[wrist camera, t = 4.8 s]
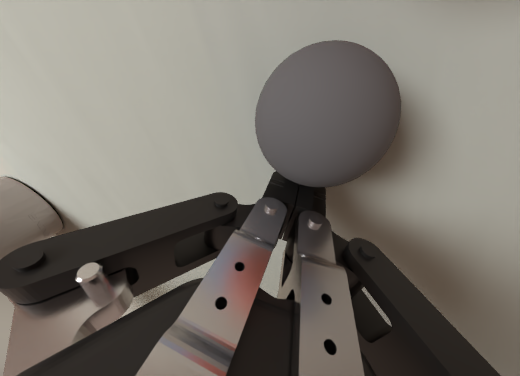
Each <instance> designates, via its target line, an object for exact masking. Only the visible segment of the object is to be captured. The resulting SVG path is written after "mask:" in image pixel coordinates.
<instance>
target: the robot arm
mask: <svg viewBox="0 0 520 376" xmlns="http://www.w3.org/2000/svg"><path fill="white" fill-rule="evenodd" d="M325 195H326V189H325V187H309V186H304V185H301V184H298V183H295V182H293V181H291V180H289V179H287V178H285V177H283V176H282V175H281V174H279V173H278V172H277V171H276V172H274V173H273V175H272V177H271V179H270V182H269V184H268V186H267V188H266V191H265V193H264V195H263V197H262V198H261V199H259V200H258V201H257V203H256V204H252V205H241V204H238V203H237V200H236V199H235V198H234V197H233V196H232V195H230V194H227V193H222V192H219V193H213V194H209V195H206V196H202V197H198V198H195V199H191V200H187V201H184V202H180V203H176V204H173V205H169V206H165V207H162V208H158V209H154V210H151V211H147V212H143V213H140V214H136V215H132V216H129V217H125V218H121V219H118V220H114V221H110V222H107V223H103V224H99V225H96V226H92V227H88V228H85V229H81V230H77V231H74V232H70V233H66V234H63V235H59V236H55V237H52V236H53V235H55V234H56V233H58V232H59V231H61V230H62V228H63V225H62V221H61V220H60V218H59V216H58V215H57V213H56V212H55V211H54V210H53V208H52V207H51V206H50V205H49V204H48V203H47V202H46V201H45V200H44V199H42V198H41V197H40V196H39V195H38V194H36V193H35V192H34V191H32V190H31V189H30V188H28V187H26V186H25V185H23V184H22V183H20V182H18V181H16V180H13V179H11V178H8V177H0V292H2V293H3V294H4V295H6V296H7V297H8V299H9V301H10V302H11V303H13V305H14V314H13V320H12V326H11V332H10V338H9V344H8V350H7V356H6V362H5V368H4V374H3V376H500V375H499V373H498V372H497V371H496V370H495V369H494V368H493V367H492V366H491V365H490V364H489V363H488V362H487V361H486V360H485V359H484V358H483V357H482V356H481V355H480V354H479V353H478V352H477V351H476V350H475V349H474V347H473V346H472V345H471V344H470V343H469V342H468V341H467V340H466V339H465V338H464V337H463V336H462V335H461V334H460V333H459V332H458V331H457V330H456V329H455V328H454V327H453V326H452V325H451V324H450V322H449V321H448V320H447V319H446V318H445V317H444V316H443V315H442V314H441V313H440V312H439V311H438V310H437V309H436V308H435V307H434V306H433V305H432V304H431V303H430V302H429V301H428V300H427V299H426V297H425V296H424V295H423V294H422V293H421V292H420V291H419V290H418V289H417V288H416V287H415V286H414V285H413V284H412V283H411V282H410V281H409V280H408V279H407V278H406V277H405V276H404V275H403V274H402V272H401V271H400V270H399V269H398V268H397V267H396V266H395V265H394V264H393V263H392V262H391V261H390V260H389V259H388V258H387V257H386V256H385V255H384V254H383V253H382V252H381V251H380V250H379V249H378V248H377V247H376V246H375V245H374V244H372V243H371V242H369V241H367V240H365V239H361V238H354V239H352V240H350V242H348V241H346V240H345V239H343V238H341V237H340V236H338V235H336V234H335V233H334V232H333V231H332V230H331V225H330V222H329V221H328V220H327V218H326V201H325V200H326V196H325ZM283 233H284V235H283ZM282 236H283V239H282V240H284V241H287V244H286V248H285V250H284V253H283V257H282V266H281V274H280V282H279V290H278V295H277V298H274V297H272V296H271V295H269V294H268V293H267V292H265V291H264V290H262V289H261V288H259V286H260V283H261V280H262V278H263V275H264V272H265V270H266V267H267V264H268V262H269V259H270V256H271V254H272V251H273V249H274V248H275V246H276V244H277V241H278V239H281V238H282ZM50 237H52V238H50ZM215 258H216V260H215V261H214V263H213V264H212V266H211V268H210V269H209V271H208V272H207V274H206V275H205V277H204V278H199V279H195V280H192V281H189V282H187V283H184V284H182V285H180V286H179V287H177V288H175V289H173V290H171V291H169V292H168V293H166V294H164V295H162V296H160V297H158V298H157V299H155V300H153V301H151V302H149V303H147V304H146V305H144V306H142V307H140V308H138V309H136V310H135V311H133V312H131V313H129V314H127V315H125V316H124V317H122V318H120V317H121V316H122V315H123V314H124V313H125V312H126V310H127V309H128V308H129V306H130V305H131V302H132V300H133V297H136V296H138V295H140V294H142V293H144V292H146V291H148V290H150V289H152V288H154V287H156V286H159V285H161V284H163V283H165V282H167V281H169V280H171V279H173V278H175V277H177V276H180V275H182V274H184V273H186V272H188V271H190V270H192V269H194V268H196V267H198V266H200V265H203V264H205V263H207V262H209V261H211V260H213V259H215ZM363 287H365V288H366V289H367V291H368V292H369V293H370V295H371V296H372V297H373V299H374V300H375V301H376V302H377V304H378V305H379V306H380V308H381V309H382V310H383V311H384V313H385V314H386V315H387V317H388V318H389V320H390V322H391V325H392V327H391V326H390V325H388V324H387V323H386V322H385V320H384V319H383V318H382V316H381V315H380V314H379V312H378V311H377V310H376V308H375V307H374V306H373V304H372V303H371V302H370V300H369V299H368V298H367V296H366V295H365V294H364V292H363V291H362V290H361V289H362V288H363ZM119 318H120V319H119ZM117 319H118V320H117ZM115 320H116V321H115ZM112 322H113V323H112ZM110 323H111V324H110Z"/></svg>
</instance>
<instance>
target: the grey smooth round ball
mask: <svg viewBox="0 0 520 376" xmlns="http://www.w3.org/2000/svg"><path fill="white" fill-rule="evenodd" d="M400 113H401V99H400V93H399V88H398V84H397V82H396V79H395V77H394V75H393V73H392V71H391V70H390V68H389V67H388V65H387V64H386V63H385V62H384V61H383V60H382V58H380V57H379V56H378V55H377V54H375V53H374V52H373V51H371V50H369V49H368V48H366V47H364V46H362V45H359V44H356V43H353V42H348V41H337V40H334V41H324V42H319V43H315V44H312V45H309V46H306V47H304V48H302V49H300V50H299V51H297V52H295V53H293V54H292V55H290V56H289V57H288V58H286V59H285V60H284V61H283V62H282V63H281V64H280V65H279V66H278V67H277V68H276V69H275V70H274V71H273V73H272V74H271V76H270V77H269V78H268V80H267V81H266V83H265V85H264V87H263V90H262V92H261V94H260V97H259V100H258V104H257V108H256V117H255V127H256V135H257V139H258V143H259V146H260V148H261V150H262V153H263V155H264V156H265V158H266V159H267V161H268V162H269V164H270V165H271V166H272V167H273V168H274V169H275V170H276V171H277V172H278V173H279V174H281V175H282V176H283V177H285V178H287V179H289V180H291V181H293V182H295V183H298V184H301V185H304V186H309V187H332V186H337V185H341V184H344V183H347V182H349V181H352V180H354V179H356V178H358V177H360V176H361V175H363V174H364V173H366V172H367V171H368V170H370V169H371V168H372V167H373V166H374V165H375V164H376V163H377V162H378V161H379V160H380V159H381V158H382V157H383V155H384V154H385V153H386V151H387V150H388V148H389V147H390V145H391V143H392V141H393V139H394V137H395V134H396V132H397V128H398V125H399V120H400Z"/></svg>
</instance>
